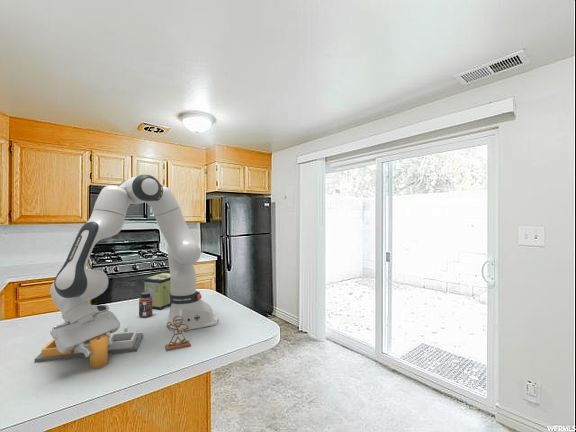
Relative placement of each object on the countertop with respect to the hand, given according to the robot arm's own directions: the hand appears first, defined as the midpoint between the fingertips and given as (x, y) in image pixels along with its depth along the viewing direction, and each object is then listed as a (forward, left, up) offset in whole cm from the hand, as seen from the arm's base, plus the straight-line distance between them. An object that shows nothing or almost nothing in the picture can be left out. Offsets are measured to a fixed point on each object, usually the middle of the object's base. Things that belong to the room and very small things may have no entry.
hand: (100, 350), depth 106 cm
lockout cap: (0, 0, -5) cm, 5 cm away
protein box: (-14, -61, -5) cm, 63 cm away
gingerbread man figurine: (-25, -7, -5) cm, 26 cm away
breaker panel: (+6, -14, -5) cm, 16 cm away
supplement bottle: (-8, -45, -5) cm, 46 cm away
